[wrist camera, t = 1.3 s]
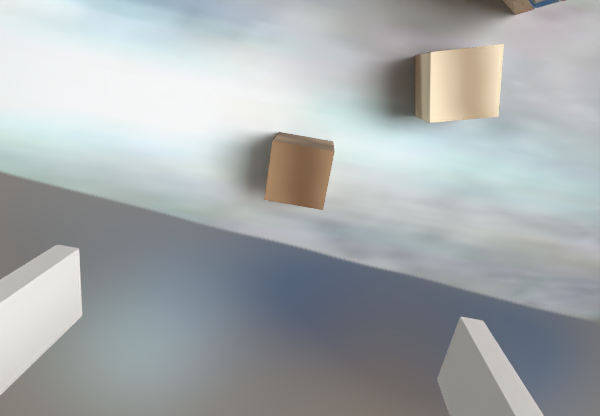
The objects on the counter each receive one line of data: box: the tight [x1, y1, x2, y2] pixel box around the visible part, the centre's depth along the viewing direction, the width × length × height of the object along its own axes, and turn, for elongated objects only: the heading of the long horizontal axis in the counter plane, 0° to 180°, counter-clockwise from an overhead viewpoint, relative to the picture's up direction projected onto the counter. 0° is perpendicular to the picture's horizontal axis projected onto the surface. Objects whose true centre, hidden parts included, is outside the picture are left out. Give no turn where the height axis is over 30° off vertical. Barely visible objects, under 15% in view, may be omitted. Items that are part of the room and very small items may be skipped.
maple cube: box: [415, 44, 504, 123], centre depth 30 cm, size 5×5×5 cm
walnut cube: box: [264, 132, 334, 210], centre depth 33 cm, size 5×5×5 cm
